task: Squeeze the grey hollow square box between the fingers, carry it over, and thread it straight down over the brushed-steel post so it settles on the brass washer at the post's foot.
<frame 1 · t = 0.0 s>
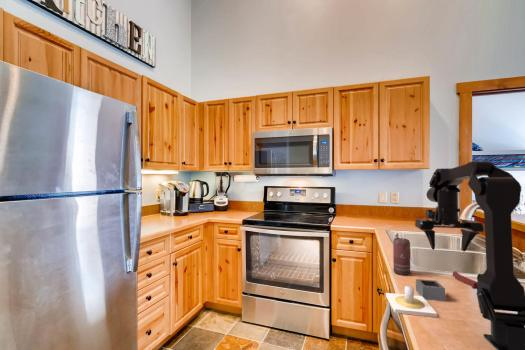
hand: (448, 250, 88), 15 cm above the worktop, fingers open, 9 cm apart
grey hollow square box: (429, 295, 86), on the worktop
post base: (409, 305, 79), on the worktop
pliers: (473, 286, 94), on the worktop
can: (401, 273, 106), on the worktop
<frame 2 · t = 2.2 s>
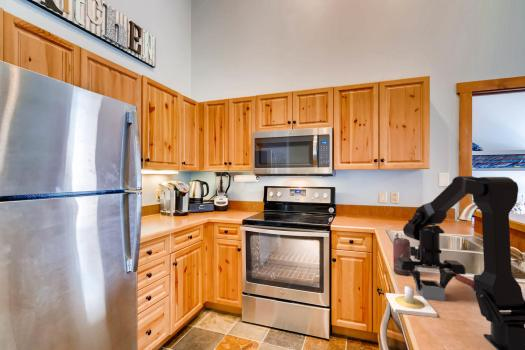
hand: (429, 290, 86), 2 cm above the worktop, fingers closed on grey hollow square box, 6 cm apart
grey hollow square box: (429, 295, 86), on the worktop, touching gripper
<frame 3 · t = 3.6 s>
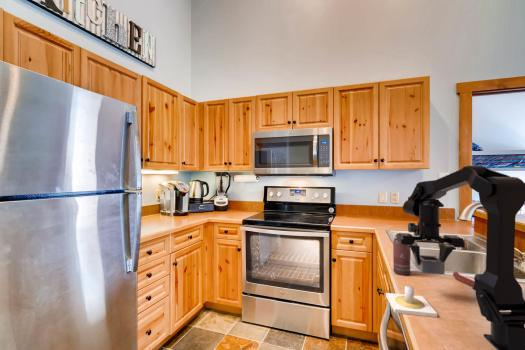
hand: (429, 265, 86), 10 cm above the worktop, fingers closed on grey hollow square box, 6 cm apart
grey hollow square box: (429, 270, 86), point 8 cm above the worktop, touching gripper
everything else where it was.
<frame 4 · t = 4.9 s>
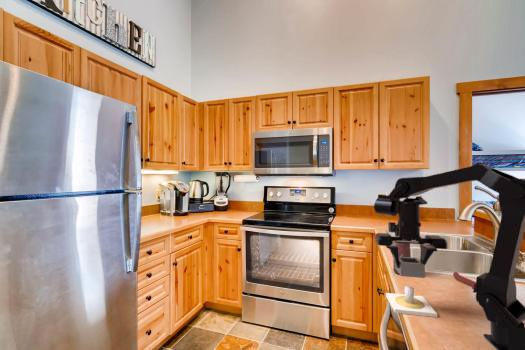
hand: (409, 268, 79), 11 cm above the worktop, fingers closed on grey hollow square box, 6 cm apart
grey hollow square box: (409, 273, 79), point 10 cm above the worktop, touching gripper
everything else where it was.
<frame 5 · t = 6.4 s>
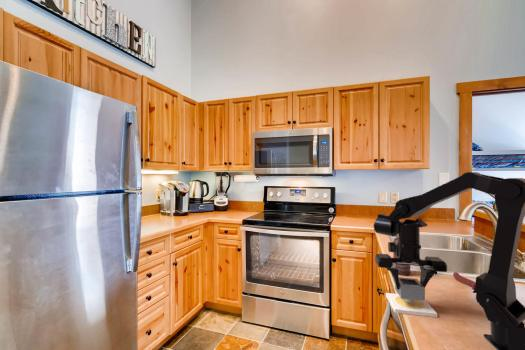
hand: (409, 289, 79), 5 cm above the worktop, fingers closed on grey hollow square box, 6 cm apart
grey hollow square box: (409, 294, 79), point 3 cm above the worktop, touching gripper
when the fingers open (4 cm above the worktop, at t = 7.6 s): grey hollow square box drops 1 cm, resting on post base.
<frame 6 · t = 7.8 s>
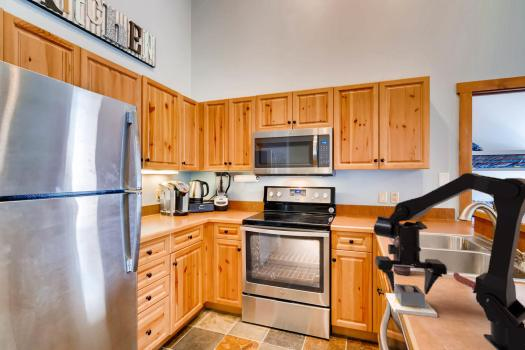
hand: (409, 292, 79), 4 cm above the worktop, fingers open, 9 cm apart
grey hollow square box: (409, 302, 79), point 1 cm above the worktop, touching post base
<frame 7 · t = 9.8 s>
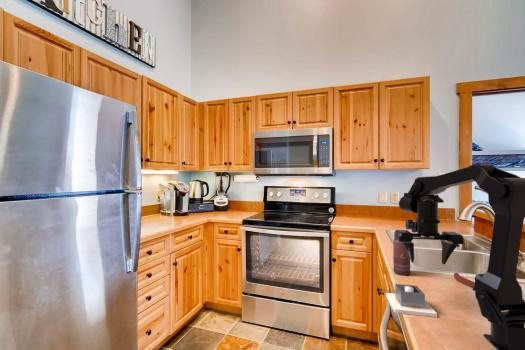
hand: (427, 263, 84), 12 cm above the worktop, fingers open, 9 cm apart
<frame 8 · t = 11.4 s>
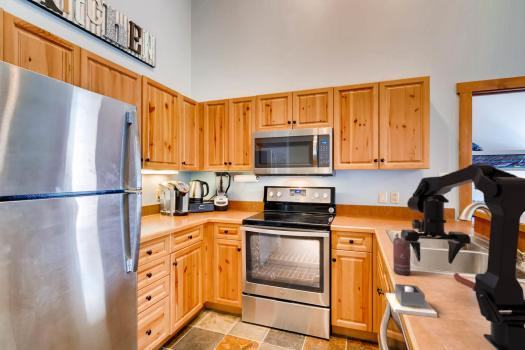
hand: (434, 262, 85), 11 cm above the worktop, fingers open, 9 cm apart
at the end: grey hollow square box 0.0 cm off-centre on the post base, point 1.1 cm above the post base's base; grey hollow square box tilted 0°; the gripper is holding nothing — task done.
